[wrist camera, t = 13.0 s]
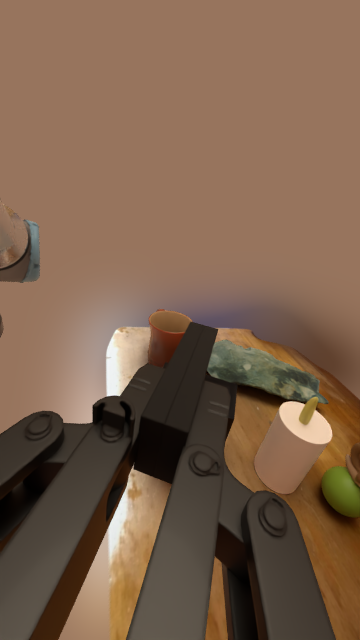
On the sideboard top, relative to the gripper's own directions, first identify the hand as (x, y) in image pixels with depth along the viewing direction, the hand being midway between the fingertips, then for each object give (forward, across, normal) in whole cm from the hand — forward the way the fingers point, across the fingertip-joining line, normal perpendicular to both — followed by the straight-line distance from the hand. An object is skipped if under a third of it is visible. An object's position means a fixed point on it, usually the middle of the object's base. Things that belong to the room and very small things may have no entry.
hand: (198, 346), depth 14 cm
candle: (+14, +14, -26) cm, 33 cm away
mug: (+31, -9, -26) cm, 42 cm away
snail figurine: (+12, +22, -26) cm, 36 cm away
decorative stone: (+34, +11, -26) cm, 44 cm away
